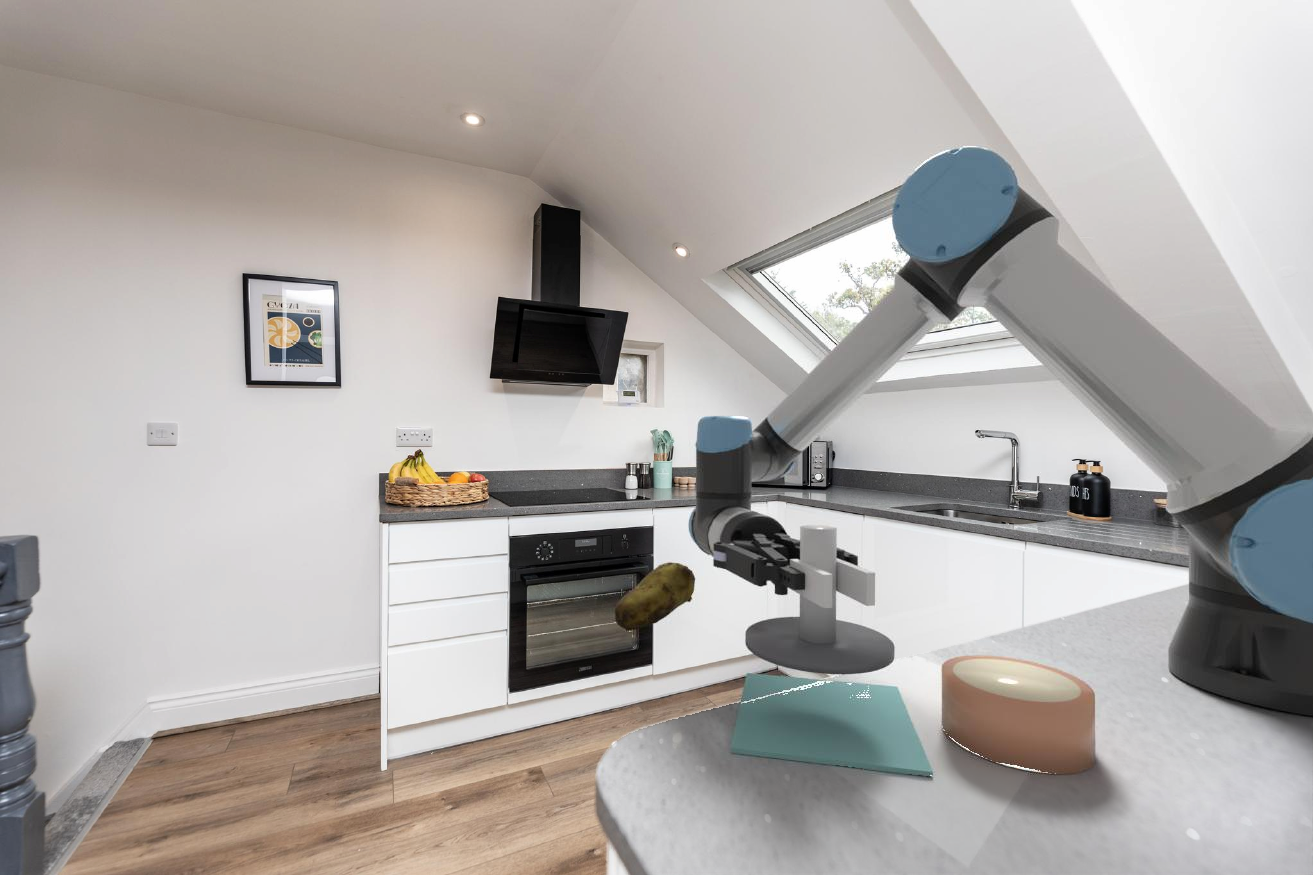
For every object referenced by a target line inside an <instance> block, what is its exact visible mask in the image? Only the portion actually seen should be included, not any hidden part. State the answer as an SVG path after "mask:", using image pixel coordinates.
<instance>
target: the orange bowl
mask: <svg viewBox="0 0 1313 875" xmlns="http://www.w3.org/2000/svg"><path fill="white" fill-rule="evenodd" d="M942 726H943V728H942V730H943V729H944V730H945V732H946V733H947V735H948V736H950V737H951V738H953V739H954V740H955V741H956V742H958V743H959V744H961V745H962V746H964V747H966V748H968V749H969V750H970V751H972V752H974V753H977V754H979V755H980V756H983V757H984V758H987V759H988V760H992V761H994V762H998V763H1005V764H1010V765H1017V766H1020V767H1024V768H1029V769H1035V770H1038V771H1039V770H1040V771H1041V772H1048V773H1051V774H1050V775H1070V774H1071V775H1072V774H1078V773H1082V772H1085V771H1087V770H1090V768H1092V767H1093V766H1094V764H1095V763H1096V694H1095V691H1094V689H1093V688H1092V687H1091V686H1090V685H1089V684H1088V683H1087V682H1085V681H1083V680H1082V679H1080V678H1079V677H1077V676H1074V675H1072V674H1070V673H1068V672H1066V671H1062V670H1061V669H1057V668H1054V667H1051V666H1049V665H1044V664H1041V663H1038V662H1033V661H1029V660H1023V659H1019V658H1013V657H1004V656H997V655H980V654H979V655H977V654H975V655H961V656H957V657H953V658H949V659H947V660H946V661H944V662H943V663H942V664H941V727H942ZM945 732H944V733H945ZM947 735H946V736H947ZM948 736H947V737H948ZM988 760H987V761H988ZM994 762H993V763H994ZM1055 773H1056V774H1055Z"/></svg>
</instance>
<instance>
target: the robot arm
mask: <svg viewBox="0 0 1313 875" xmlns="http://www.w3.org/2000/svg"><path fill="white" fill-rule="evenodd" d="M891 217H892V218H891V221H892V223H891V225H892V228H893V232H894V234H895V240H896V241H897V243H898V246H899V248H900V249H901V250H902V251H903V252H904V253H905V254H906V255H908V256H909V259H908V260H907V261H906V263H905V264H904V265H903V266H902V267H901V268H900V270H898V271H897V273H896V274H894V281H893V282H894V284H893V288H892V289H891V290H890V291H889V292H888V293H887V294H885V296H883V298H881V300H880V301H879V302H878V303H876V305H875V306H874V307H873V308H872V309H871V310H869V312H868V313H867V314H866V315H865V316H864V317H863V318H862V319H861V320H860V321H859V322H858V323H857V325H855V326H854V327H853V328H852V329H851V331H849V332H848V333H847V334H846V335H845V336H844V337H843V338H842V339H841V340H840V342H839V343H837V344H836V346H835V347H834V348H833V349H832V350H831V351H830V352H829V353H828V354H826V356H825V357H824V358H823V359H822V360H821V361H820V362H819V363H818V364H817V365H816V366H815V367H814V368H813V369H812V370H811V371H810V372H809V373H808V374H807V375H806V376H805V377H804V378H803V379H802V380H801V381H800V382H799V383H798V384H797V385H796V386H795V387H794V389H793V390H791V391H790V392H789V394H787V396H785V398H783V400H781V401H780V402H779V404H778V405H777V406H776V407H774V409H773V410H772V411H771V412H770V413H769V414H767V416H766V418H764V420H762V421H761V422H760V424H758V425H757V426H756V427H755V428H754V429H752V428H753V426H752V421H751V419H750V418H749V417H747V416H742V415H739V416H738V415H710V416H709V415H707V416H704V417H702V418H700V419H699V420H698V423H697V429H696V430H697V431H696V432H697V433H696V441H695V453H696V454H695V464H696V465H695V466H696V467H695V476H696V480H695V481H696V482H695V489H696V490H695V494H696V496H695V507H694V509H693V510H692V512H691V513H690V515H689V518H688V532H689V536H690V537H691V540H692V541H693V543H695V544H696V546H697V547H698V548H699V549H700V551H702V552H703V553H705V554H707V555H708V556H711V557H712V558H713V561H712V562H713V563H712V564H713V565H712V566H713V567H715V568H718V569H723V570H726V571H728V572H730V573H732V574H733V575H736V576H737V577H739V578H741V579H743V580H745V581H746V582H748V583H750V584H752V585H754V586H757V587H760V588H761V587H764V586H767V585H768V582H771V583H772V584H773V586H774V595H779V596H787V595H788V593H789V592H788V590H789V589H790V590H791V591H794V592H795V593H797V594H799V596H800V595H802V596H803V597H805V598H807V599H809V600H810V601H812V602H814V603H816V604H817V605H819V606H821V607H823V608H832V574H830V573H828V572H826V571H823V570H821V569H819V568H817V567H814V566H812V565H810V564H808V563H806V562H803V561H801V560H800V539H795V538H792V537H791V536H790V535H789V534H788V533H787V531H786V529H785V528H784V526H783V525H782V524H781V523H780V522H779V521H778V520H776V519H775V518H773V517H772V516H769V515H767V514H766V515H765V514H763V513H759V512H757V511H754V510H752V483H753V482H773V481H776V480H779V479H780V478H784V477H785V476H786V475H788V474H789V473H790V472H791V471H792V470H793V469H794V466H795V465H796V461H797V458H798V457H799V455H801V453H803V452H804V451H805V450H806V449H807V448H808V447H809V446H810V445H811V444H812V443H813V442H814V441H815V440H816V439H818V438H819V436H821V435H822V434H823V433H824V432H826V431H827V429H828V428H829V427H830V426H831V425H833V423H834V422H836V420H838V419H839V417H841V416H842V415H843V414H844V413H845V412H846V411H847V410H848V409H849V408H851V406H852V405H853V404H855V403H856V401H857V400H859V399H860V398H861V397H862V396H863V395H864V394H865V393H866V392H867V391H868V390H870V389H871V388H872V386H873V385H875V384H876V382H878V381H879V380H880V379H881V378H882V377H883V376H884V375H885V374H887V372H888V371H889V370H890V369H891V368H892V367H894V366H895V365H896V364H897V363H898V362H899V361H900V360H901V359H902V358H903V357H904V356H906V354H908V352H910V350H911V349H913V348H914V347H915V346H916V345H917V344H918V343H920V341H921V340H922V339H923V338H924V337H925V336H926V335H927V334H929V333H930V332H931V331H932V330H933V328H935V327H937V325H948V324H951V323H952V322H954V320H955V319H956V318H957V317H958V316H959V315H960V314H962V312H963V311H965V310H966V309H967V308H983V309H985V310H986V311H987V312H988V314H990V315H991V316H992V317H993V318H994V319H995V320H996V321H998V323H999V324H1000V325H1002V326H1003V327H1004V329H1006V331H1008V333H1010V335H1012V336H1013V337H1014V338H1015V339H1016V340H1017V342H1019V343H1020V344H1021V346H1023V347H1024V348H1025V349H1026V350H1027V351H1028V352H1029V353H1030V354H1031V355H1032V356H1033V357H1035V359H1037V361H1039V363H1041V364H1042V365H1043V366H1044V368H1046V369H1047V371H1049V372H1050V373H1051V375H1053V376H1054V377H1055V378H1056V379H1057V380H1058V381H1059V382H1061V384H1062V385H1064V386H1065V388H1067V389H1068V391H1070V393H1072V395H1073V396H1074V397H1076V399H1078V401H1080V402H1081V403H1082V404H1083V405H1084V406H1085V407H1086V408H1087V409H1088V410H1089V411H1090V412H1091V413H1092V414H1094V416H1096V418H1097V419H1098V420H1099V421H1101V423H1103V424H1104V425H1105V427H1107V429H1109V431H1111V432H1112V433H1113V434H1114V436H1116V438H1118V439H1119V440H1120V441H1121V442H1122V443H1123V444H1124V445H1125V446H1126V447H1127V448H1128V449H1129V450H1130V451H1131V452H1132V453H1133V454H1134V455H1135V456H1136V457H1138V459H1140V460H1141V462H1143V464H1144V465H1146V466H1147V468H1149V469H1150V470H1151V471H1152V472H1153V474H1155V475H1156V476H1157V477H1158V478H1159V479H1160V480H1161V481H1162V482H1163V483H1164V484H1165V486H1166V489H1167V490H1166V491H1167V494H1166V502H1165V510H1166V511H1167V513H1169V515H1171V516H1172V517H1173V519H1174V520H1175V521H1176V522H1177V523H1179V525H1181V527H1182V528H1184V529H1185V531H1186V532H1187V533H1188V601H1187V604H1186V606H1185V609H1184V611H1183V614H1182V616H1181V618H1180V621H1179V623H1178V625H1177V627H1176V630H1175V632H1174V634H1173V636H1172V639H1171V641H1170V643H1169V646H1168V648H1167V649H1168V660H1167V661H1168V664H1167V665H1168V667H1167V668H1168V670H1169V671H1170V672H1171V673H1172V674H1173V675H1174V676H1176V677H1177V678H1179V679H1180V680H1182V681H1184V682H1185V683H1189V684H1190V685H1193V686H1195V687H1197V688H1200V689H1202V690H1205V691H1208V692H1210V693H1213V694H1216V695H1218V696H1222V697H1225V698H1228V699H1232V700H1235V701H1239V702H1242V703H1246V704H1250V705H1255V706H1258V707H1262V708H1268V709H1273V710H1277V711H1283V712H1288V713H1292V714H1299V715H1305V716H1312V717H1313V433H1312V432H1311V431H1309V430H1307V429H1306V430H1302V429H1291V428H1282V427H1280V428H1279V427H1276V426H1271V425H1269V424H1268V423H1266V421H1264V420H1263V419H1262V418H1260V416H1258V415H1257V414H1256V413H1255V412H1254V411H1252V410H1251V409H1250V408H1249V407H1248V406H1246V405H1245V404H1244V403H1243V402H1242V401H1241V400H1240V399H1239V398H1237V397H1236V396H1235V395H1234V394H1233V393H1231V392H1230V391H1229V390H1228V389H1227V388H1226V387H1225V386H1224V385H1222V384H1221V383H1220V382H1219V381H1218V380H1216V379H1215V378H1214V377H1213V376H1212V375H1211V374H1210V373H1209V372H1207V371H1206V370H1205V369H1204V368H1203V367H1201V366H1200V365H1199V364H1198V363H1196V361H1194V360H1193V359H1192V358H1191V357H1190V356H1188V354H1186V353H1185V352H1184V351H1183V350H1181V348H1179V347H1178V346H1177V345H1175V343H1174V342H1173V341H1171V340H1170V339H1169V338H1168V337H1167V336H1166V335H1164V334H1163V333H1162V332H1161V331H1159V330H1158V329H1157V328H1156V327H1155V326H1154V325H1153V324H1151V323H1150V322H1149V321H1148V320H1147V319H1146V318H1145V317H1143V316H1142V315H1141V314H1140V313H1139V312H1137V311H1136V310H1135V309H1134V308H1133V307H1132V306H1130V305H1129V303H1127V302H1126V301H1125V300H1124V299H1123V298H1121V296H1119V295H1118V294H1117V293H1116V292H1114V291H1113V290H1112V289H1111V288H1110V287H1109V286H1108V285H1106V284H1105V283H1104V282H1103V280H1101V279H1100V278H1098V277H1097V276H1096V275H1095V274H1094V273H1092V272H1091V271H1090V269H1088V268H1087V267H1085V266H1084V265H1083V264H1082V263H1081V262H1080V261H1078V259H1077V258H1075V257H1074V256H1072V255H1071V254H1070V253H1069V252H1068V251H1067V250H1066V249H1065V248H1063V247H1062V246H1061V245H1060V244H1059V242H1058V238H1059V230H1060V229H1059V227H1060V221H1059V219H1058V218H1057V217H1055V215H1053V214H1052V213H1051V212H1050V211H1048V210H1047V209H1046V208H1045V206H1043V205H1042V204H1040V203H1039V202H1038V201H1037V200H1036V199H1034V198H1033V197H1032V196H1031V195H1030V194H1028V193H1027V192H1026V190H1024V189H1023V188H1021V186H1020V185H1019V183H1018V178H1017V175H1016V173H1015V170H1014V169H1013V168H1012V166H1011V164H1009V163H1008V162H1007V161H1006V160H1005V159H1004V158H1003V157H1002V156H1001V155H1000V154H998V153H996V152H994V151H993V150H991V149H988V148H984V147H980V146H962V147H957V148H953V149H948V150H944V151H942V152H939V153H938V154H935V155H934V156H932V157H930V158H929V159H927V160H925V161H924V162H923V163H921V164H920V165H918V167H916V169H914V170H913V171H912V173H911V174H909V176H907V178H906V179H905V181H904V182H903V184H902V185H901V186H900V189H899V190H898V192H897V194H896V197H895V200H894V203H893V207H892V214H891ZM836 592H837V593H840V594H842V595H844V596H846V597H847V598H850V599H851V600H854V601H856V602H858V603H859V604H862V605H864V606H866V607H872V606H876V572H874V571H872V570H869V569H867V568H863V567H861V566H859V556H858V555H856V554H854V553H850V552H848V551H846V550H845V549H842V548H840V547H837V551H836Z"/></svg>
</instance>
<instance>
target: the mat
mask: <svg viewBox="0 0 1313 875" xmlns="http://www.w3.org/2000/svg"><path fill="white" fill-rule="evenodd" d="M823 680H824V679H818V678H816V679H815V678H807V677H805V678H804V677H798V676H797V677H795V676H794V677H793V676H785V675H784V676H783V675H773V674H763V673H749V672H747V673H746V675H745V680H744V685H743V688H742V689H743V690H742V695H741V699H740V702H744V701H749V700H751V699H756V698H758V697H763V696H766V695H770V694H774V693H778V692H782V691H783V690H790V689H791V688H797V687H799V686H803V685H808V684H812V683H815V682H817V681H823ZM832 681H833V682H830V683H826V681H825V682H824V684H823V685H819V686H814V685H812V687H811V688H807V689H804V690H800V689H801V688H799V690H796V691H794V690H792V691H790V692H784V693H780V694H775V695H771V696H768V697H765V698H762V699H756V700H755V701H750V702H747V703H742V704H740V703H739V707H738V708H739V709H738V713H737V717H736V721H735V722H736V723H735V726H734V731H733V736H732V740H731V743H730V753H731V754H739V755H746V756H747V755H748V756H756V757H762V758H771V759H780V760H789V761H796V762H804V763H806V762H807V763H812V764H822V765H828V766H836V765H841V766H840V767H844V766H850V767H849V768H852V767H855V768H854V769H861V768H862V769H861V770H868V771H869V770H870V771H878V772H887V773H894V774H895V773H896V774H902V775H909V774H912V775H911V776H918V775H924V776H923V777H926V776H930V775H932V776H933V777H934V771H933V769H932V766H931V764H930V761H929V759H928V757H927V755H926V753H925V750H924V747H923V744H922V743H921V740H920V738H919V736H918V732H917V730H916V728H915V725H914V723H913V721H912V718H911V717H910V716H911V715H910V714H909V712H908V709H907V707H906V705H905V702H904V700H903V697H902V694H901V693H900V690H899V688H898V686H895V685H884V684H883V685H882V684H872V683H861V682H851V681H850V682H849V681H839V680H832ZM847 683H852V684H851V685H849V684H847ZM818 684H819V683H818ZM821 684H822V683H821ZM815 685H817V684H815ZM868 686H869V687H868ZM808 687H810V686H808ZM804 688H806V687H804ZM868 688H869V689H868ZM864 690H865V691H864ZM867 690H869V691H867ZM859 692H860V693H859ZM863 692H865V693H863ZM866 692H868V693H866ZM785 693H788V694H785ZM783 694H785V695H783ZM858 694H859V695H861V694H864V695H865V694H867V695H868V694H869V695H870V696H867V697H869V698H864V697H866V695H865V696H859V695H858ZM852 695H853V696H852ZM856 695H858V696H856ZM850 697H851V698H850ZM857 697H860V698H857ZM861 697H863V698H861ZM870 697H871V698H870ZM753 702H754V703H753Z"/></svg>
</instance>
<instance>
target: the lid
mask: <svg viewBox="0 0 1313 875" xmlns="http://www.w3.org/2000/svg"><path fill="white" fill-rule="evenodd" d="M837 529H838V528H837V527H835V526H830V525H817V524H816V525H815V524H814V525H813V524H812V525H801V526H799V530H800V531H799V532H800V534H799V538H800V539H799V540H800V560H801V561H803V562H806V563H808V564H810V565H812V566H814V567H817V568H819V569H821V570H823V571H826V572H828V573H830V574H832V608H823V607H821V606H819V605H817V604H816V603H814V602H812V601H810V600H809V599H807V598H805V597H803V596H802V595H800V594H799V616H784V617H781V616H780V617H773V618H768V619H764V620H760V621H757V622H755V623H753V624H751V625H749V626H748V627H747V629H746V630H745V647H746V648H747V650H748V651H750V653H752V654H753V655H754V656H755V657H758V658H759V659H761V660H764V661H766V662H768V663H770V664H774V665H776V666H779V667H783V668H786V669H790V670H795V671H800V672H805V673H811V674H812V673H815V674H820V675H822V674H823V675H825V674H826V675H858V674H859V675H860V674H866V673H872V672H877V671H879V670H882V669H885V668H887V667H888V666H890V665H891V664H892V663H893V662H894V660H895V651H896V650H895V648H896V646H895V644H894V642H893V640H891V639H890V638H889V637H888V636H887V635H885V634H884V633H881V632H879V631H877V630H875V629H873V628H870V627H868V626H865V625H861V624H857V623H854V622H849V621H845V620H840V619H837V591H836V551H837V548H838V547H837V545H838V544H837V540H838V539H837V532H838V531H837Z"/></svg>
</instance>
